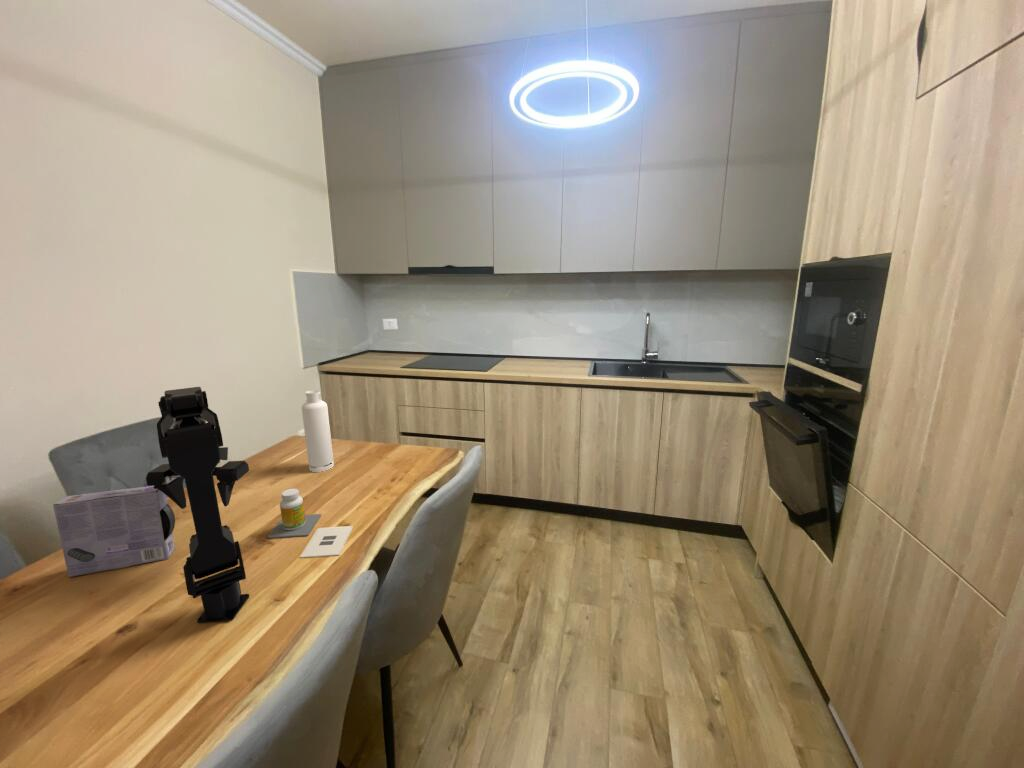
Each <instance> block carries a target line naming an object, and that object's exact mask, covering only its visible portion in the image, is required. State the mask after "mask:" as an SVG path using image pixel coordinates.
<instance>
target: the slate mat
mask: <svg viewBox="0 0 1024 768" xmlns="http://www.w3.org/2000/svg"><path fill="white" fill-rule="evenodd" d="M321 516H322V513H317V514H305V520H306V522H305V524H304V525H303V526H302V527H300V528H298V529H295V530H285V529H284V528H283V523H282V518H281V519H280V520H279V521H278V523H277V524H276V525H275V526H274V528H273V529H272V530H271V531H270V532H269V534H268V535H267V537H266V539H269V540H270V539H282V538H285V539H286V538H298V537H308V536H309V535H310V534H311V532H312V531H313V529H314V527H315V526H316V524H317V523H318V522H319V520H320V518H321Z"/></svg>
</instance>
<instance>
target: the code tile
mask: <svg viewBox="0 0 1024 768" xmlns="http://www.w3.org/2000/svg"><path fill="white" fill-rule="evenodd" d="M353 528H354V526H353V525H347V526H332V527H331V526H330V527H329V526H328V527H318V528H317V529H316V530H315V532H314V534H313V535H312V537H311V538H310V540H309V542H308V543H307V544H306V546H305V548H304V549H303V551H302V553H301V554H300V556H299V559H303V558H304V559H306V558H307V559H308V558H319V557H320V558H321V557H334V556H340V555H341V553H342V551H343V549H344V546H345V545H346V542H347V541H348V538H349V536H350V534H351V533H352V530H353Z"/></svg>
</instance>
